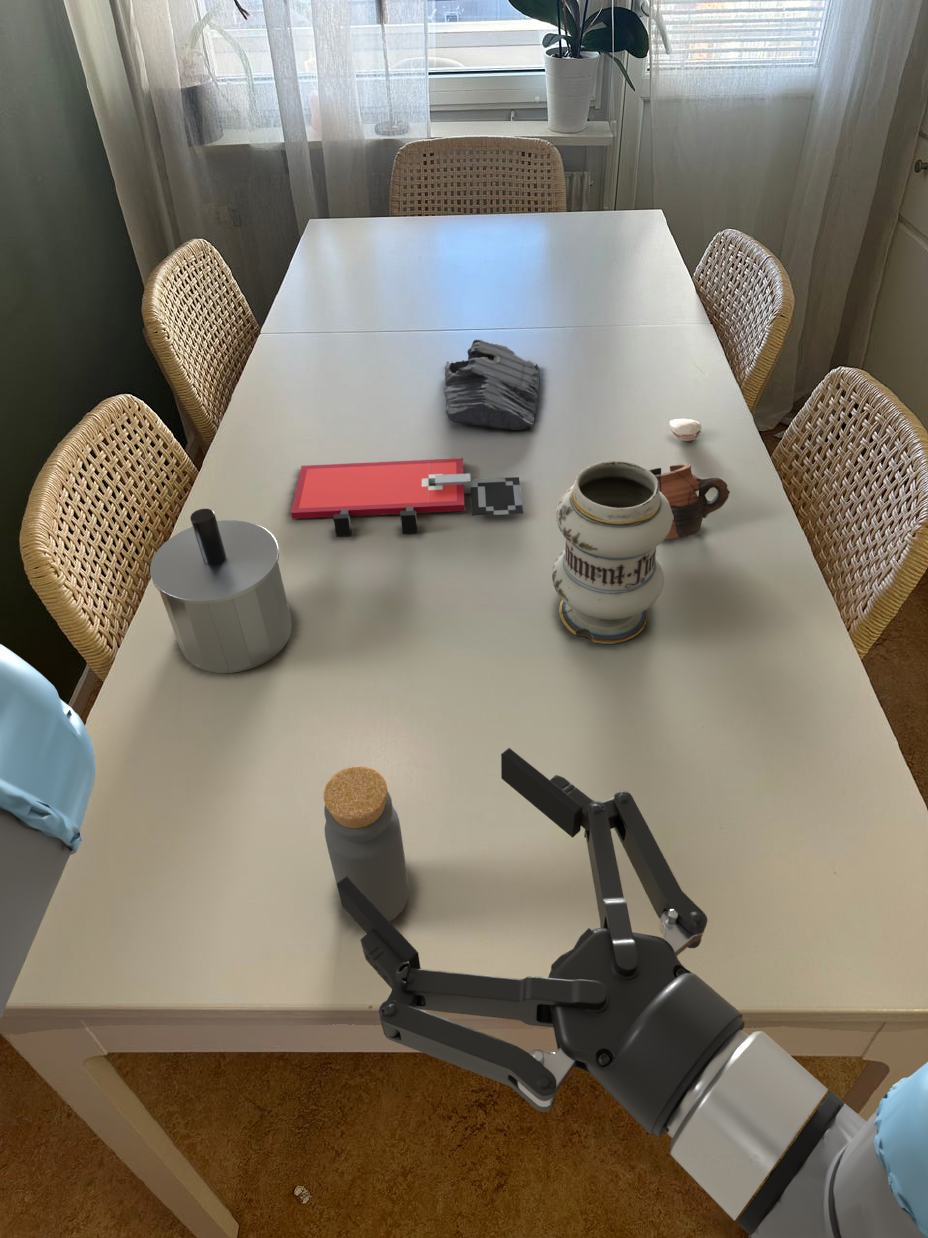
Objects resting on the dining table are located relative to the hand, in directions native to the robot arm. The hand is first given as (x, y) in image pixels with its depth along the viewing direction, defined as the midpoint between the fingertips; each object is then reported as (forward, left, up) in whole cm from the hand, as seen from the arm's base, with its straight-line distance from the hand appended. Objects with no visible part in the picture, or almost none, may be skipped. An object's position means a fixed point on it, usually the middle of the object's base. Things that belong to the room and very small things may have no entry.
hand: (429, 823), depth 55 cm
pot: (-29, +36, -20) cm, 50 cm away
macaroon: (+23, +82, -21) cm, 87 cm away
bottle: (-7, +6, -21) cm, 22 cm away
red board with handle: (-14, +63, -21) cm, 67 cm away
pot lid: (-29, +36, -10) cm, 47 cm away
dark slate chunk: (-6, +91, -20) cm, 93 cm away
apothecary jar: (+12, +43, -20) cm, 49 cm away
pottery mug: (+21, +62, -21) cm, 68 cm away
